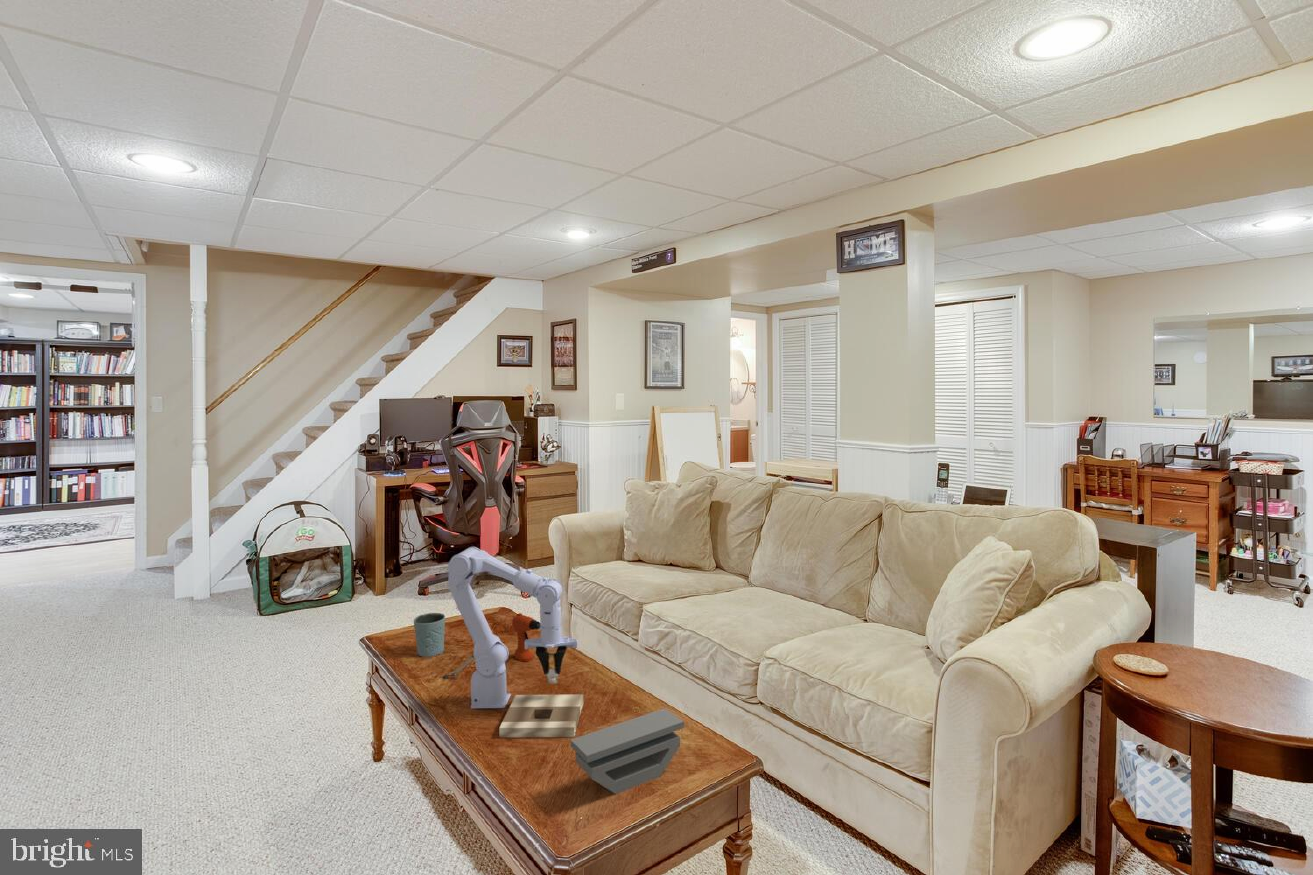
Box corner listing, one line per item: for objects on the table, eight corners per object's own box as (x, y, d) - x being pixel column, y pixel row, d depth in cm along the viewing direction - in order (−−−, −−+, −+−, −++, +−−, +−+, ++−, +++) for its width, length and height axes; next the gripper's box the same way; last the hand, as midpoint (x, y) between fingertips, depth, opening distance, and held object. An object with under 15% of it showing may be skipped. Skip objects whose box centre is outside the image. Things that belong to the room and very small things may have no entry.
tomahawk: (461, 683, 201) (461, 680, 201) (442, 679, 202) (442, 676, 202) (494, 655, 221) (494, 651, 221) (476, 651, 223) (476, 648, 222)
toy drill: (545, 668, 205) (540, 620, 205) (511, 659, 218) (506, 614, 218) (558, 663, 208) (552, 615, 208) (523, 654, 221) (519, 610, 222)
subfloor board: (499, 737, 167) (499, 727, 167) (516, 703, 185) (515, 694, 185) (574, 736, 167) (574, 727, 166) (583, 702, 185) (583, 694, 184)
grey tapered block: (588, 805, 139) (586, 755, 138) (571, 786, 146) (570, 739, 145) (684, 766, 153) (683, 721, 152) (665, 751, 159) (664, 707, 158)
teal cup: (434, 644, 230) (433, 610, 229) (452, 650, 224) (451, 616, 223) (408, 654, 221) (407, 619, 221) (427, 660, 216) (425, 625, 215)
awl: (546, 683, 182) (545, 655, 181) (548, 678, 185) (547, 650, 184) (557, 683, 182) (556, 655, 181) (559, 678, 185) (558, 650, 184)
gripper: (521, 630, 178) (523, 679, 179) (575, 629, 178) (576, 678, 179) (526, 621, 185) (528, 668, 186) (578, 620, 185) (579, 667, 186)
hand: (552, 672), depth 183 cm, fingers closed on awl, 3 cm apart
